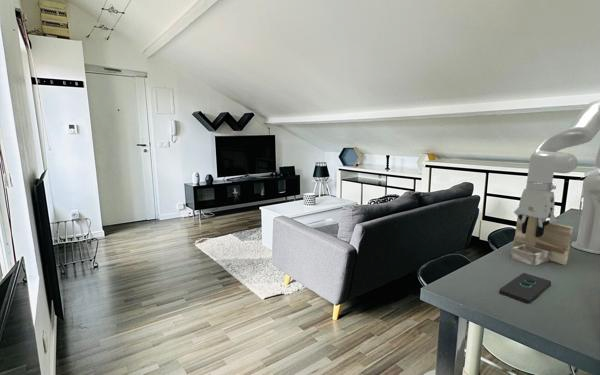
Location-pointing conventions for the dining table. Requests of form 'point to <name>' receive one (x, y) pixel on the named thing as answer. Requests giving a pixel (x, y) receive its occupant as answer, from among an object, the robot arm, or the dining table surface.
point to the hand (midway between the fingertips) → (531, 234)
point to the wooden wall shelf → (543, 245)
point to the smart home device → (525, 288)
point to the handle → (531, 230)
